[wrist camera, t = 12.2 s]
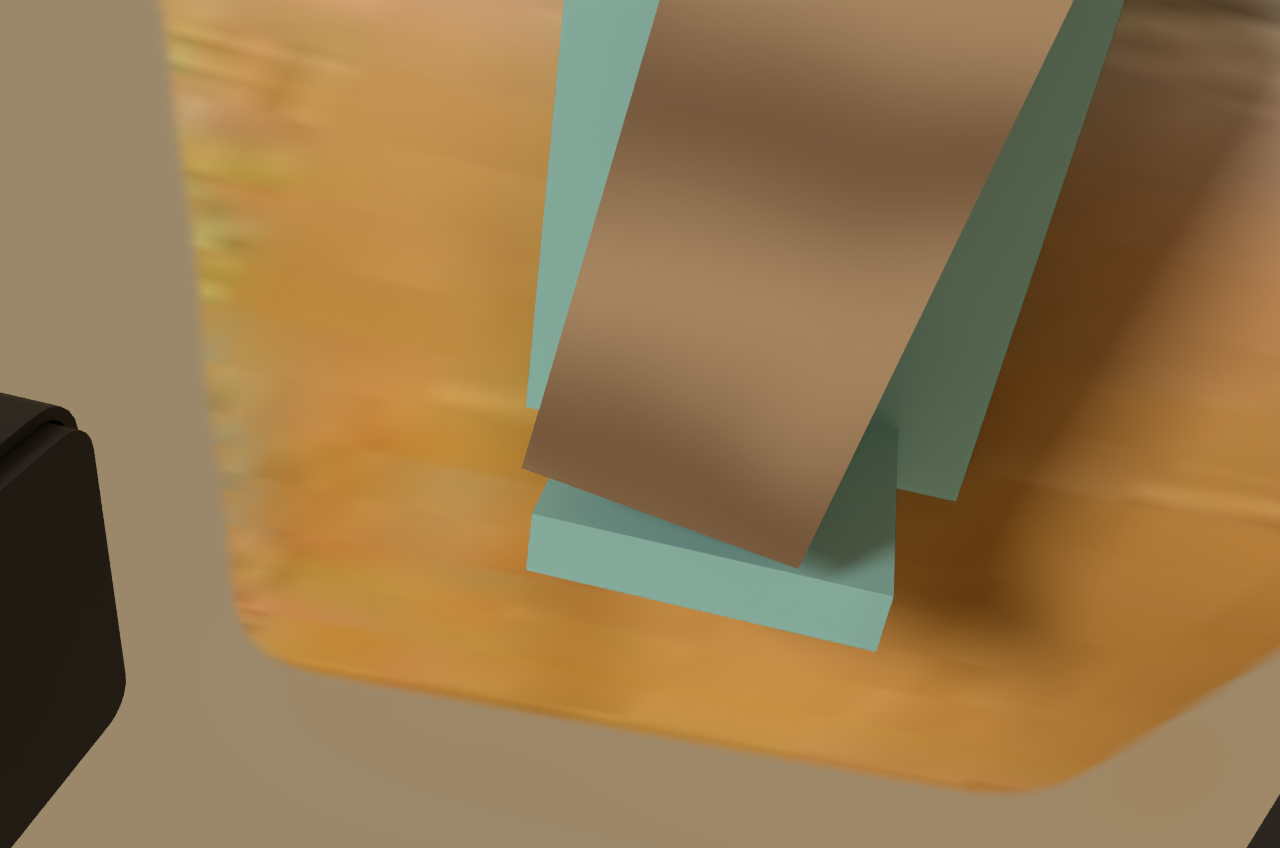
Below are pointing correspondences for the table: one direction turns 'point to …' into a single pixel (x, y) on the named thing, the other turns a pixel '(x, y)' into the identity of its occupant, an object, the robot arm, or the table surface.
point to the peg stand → (912, 402)
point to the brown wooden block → (774, 248)
